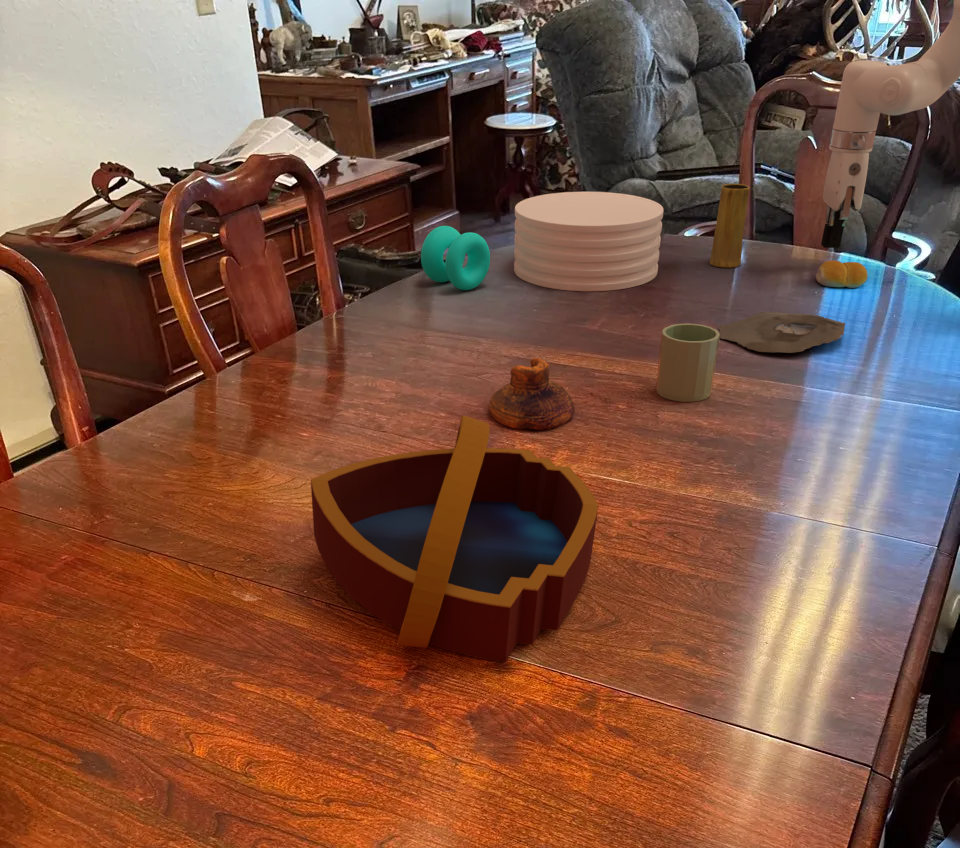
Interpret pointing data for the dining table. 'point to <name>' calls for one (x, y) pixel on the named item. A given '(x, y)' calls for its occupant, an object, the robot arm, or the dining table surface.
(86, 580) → the dining table surface
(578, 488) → the decorative basket
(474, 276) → the donuts
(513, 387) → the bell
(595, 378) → the dining table surface
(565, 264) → the plate stack
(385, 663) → the dining table surface
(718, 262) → the vase
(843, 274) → the bread roll
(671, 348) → the teacup
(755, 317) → the fabric swatch
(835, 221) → the robot arm
